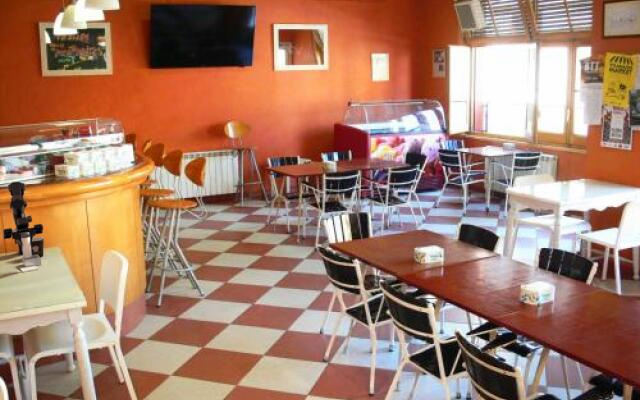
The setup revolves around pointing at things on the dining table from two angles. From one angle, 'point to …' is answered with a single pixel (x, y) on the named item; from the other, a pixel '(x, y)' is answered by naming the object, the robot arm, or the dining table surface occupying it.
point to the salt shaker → (26, 244)
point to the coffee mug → (37, 246)
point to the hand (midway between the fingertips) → (26, 244)
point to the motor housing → (32, 261)
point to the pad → (29, 268)
